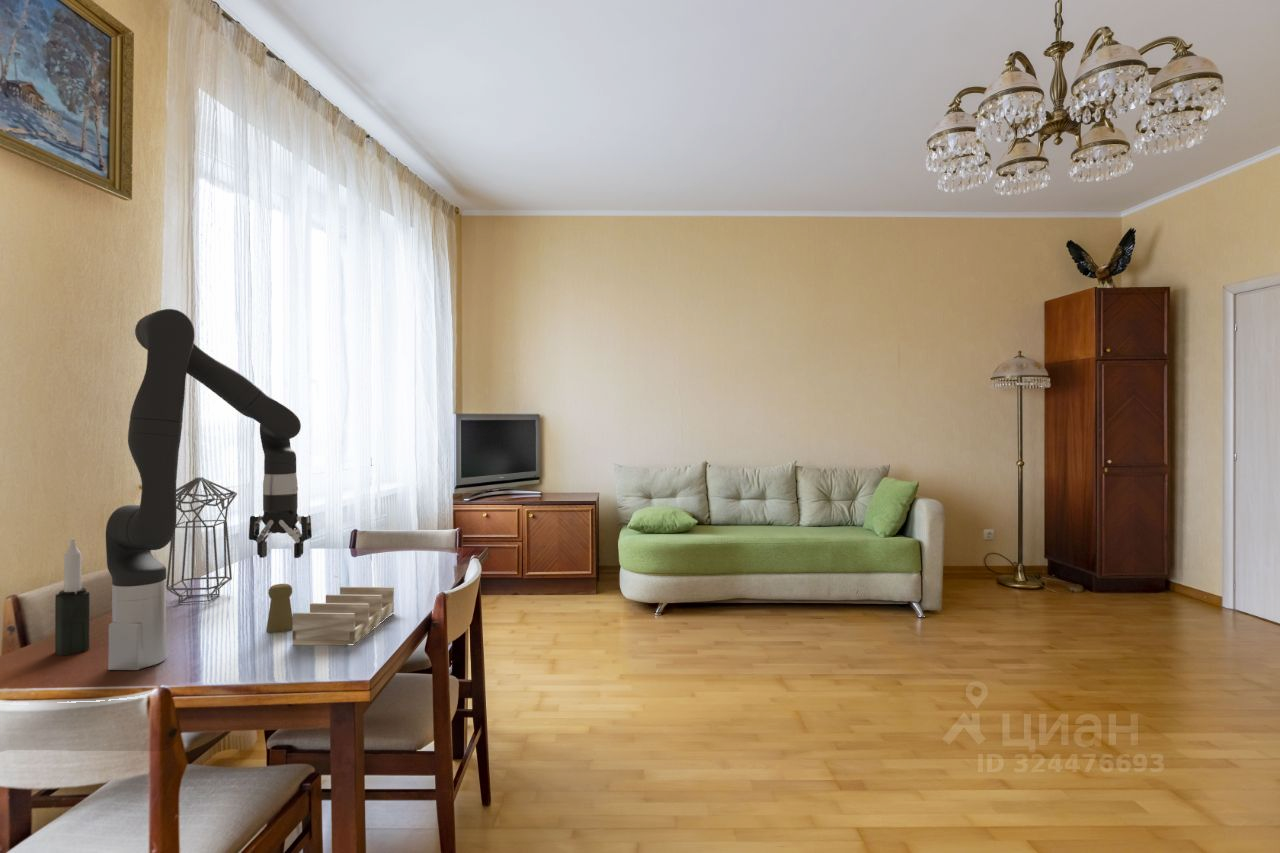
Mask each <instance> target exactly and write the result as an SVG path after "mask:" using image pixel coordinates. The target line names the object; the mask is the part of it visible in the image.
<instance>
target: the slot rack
mask: <svg viewBox="0 0 1280 853" xmlns="http://www.w3.org/2000/svg"><path fill="white" fill-rule="evenodd" d="M394 600H395V587H394V586H340V587H339V594H330V593H329V594H325V602H311V603H310V604H309V612H292V617H293V629H292V635H291V636H292V637H291V638H292V644H291V645H292V646H349V645H348V644H355V643H356V642H357V641H358V640H360V639H361V638H362V637H363V636H365V635H366V634H367V633H368V632H370V631H371V630H372V629H373V628H374V627H376V626H377V625H378V624H379V623H380V622H382V621H383V620H384V619H385V618H386V617H388V616H389V615H390V614H391V613H393V612H394V611H395V609H394V608H395V602H394ZM394 613H395V612H394ZM376 628H377V627H376ZM371 632H372V631H371ZM371 632H370V633H371ZM367 635H368V634H367ZM367 635H366V636H367ZM366 636H365V637H366ZM362 639H363V638H362ZM362 639H361V640H362ZM361 640H360V641H361ZM358 642H359V641H358ZM358 642H357V643H358ZM357 643H356V644H357ZM345 644H347V645H345ZM356 644H355V645H356Z"/></svg>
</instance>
